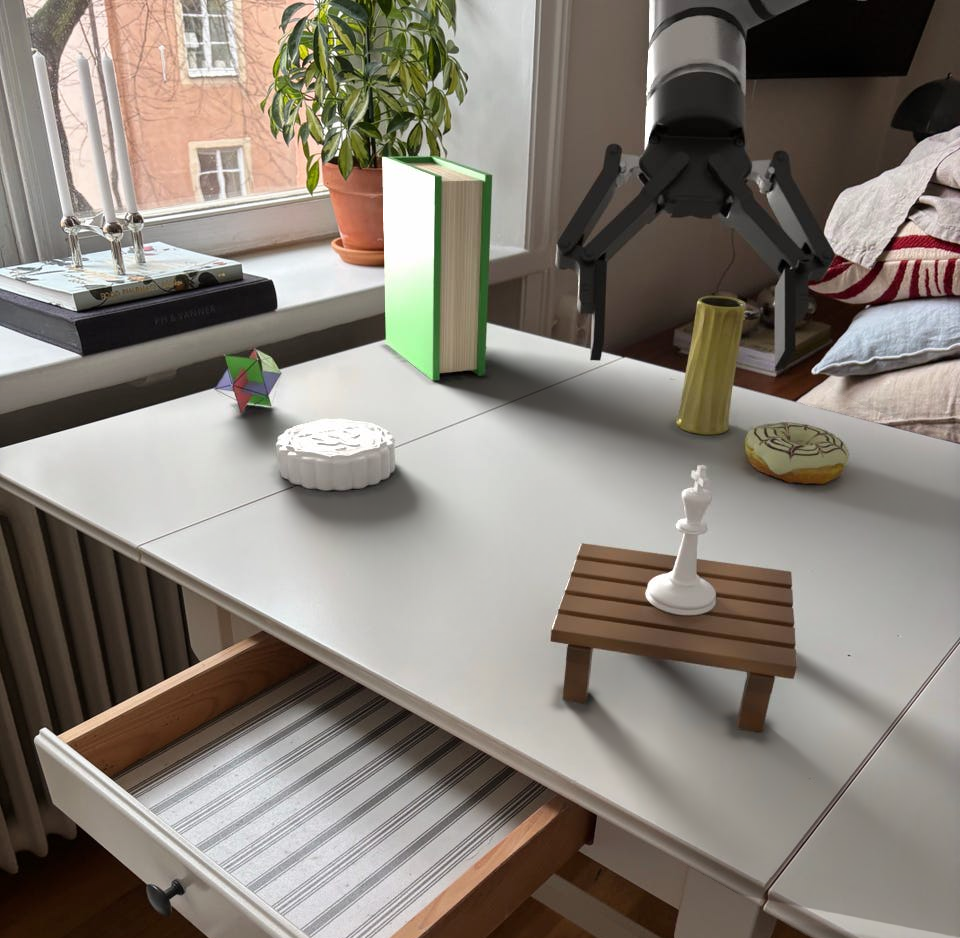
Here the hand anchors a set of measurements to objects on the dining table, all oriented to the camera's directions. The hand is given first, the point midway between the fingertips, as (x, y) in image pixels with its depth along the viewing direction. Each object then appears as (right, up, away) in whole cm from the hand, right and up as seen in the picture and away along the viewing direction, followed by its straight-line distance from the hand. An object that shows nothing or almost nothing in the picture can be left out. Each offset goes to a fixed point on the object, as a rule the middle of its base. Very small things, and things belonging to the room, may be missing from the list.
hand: (690, 356), depth 72 cm
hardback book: (-22, +18, +63) cm, 69 cm away
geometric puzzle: (-42, +7, +45) cm, 62 cm away
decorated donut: (+18, -2, +34) cm, 39 cm away
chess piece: (-1, -18, -1) cm, 18 cm away
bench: (-1, -22, +1) cm, 22 cm away
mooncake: (-30, -3, +30) cm, 43 cm away
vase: (+11, +4, +44) cm, 46 cm away
